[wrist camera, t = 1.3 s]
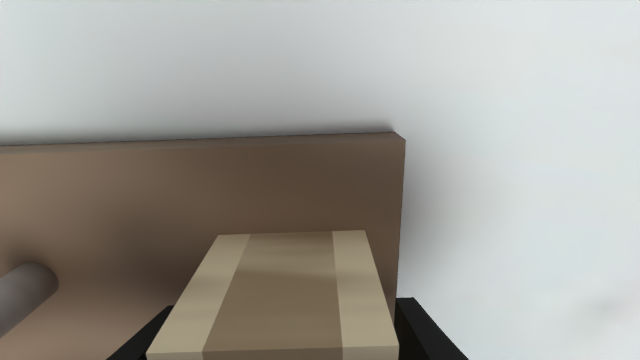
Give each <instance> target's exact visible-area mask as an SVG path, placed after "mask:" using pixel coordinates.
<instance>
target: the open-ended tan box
mask: <svg viewBox="0 0 640 360" xmlns="http://www.w3.org/2000/svg"><path fill="white" fill-rule="evenodd" d="M398 356H399V343H398V340H397V336H396V333H395V329H394V326H393V323H392V319H391V316H390V313H389V309H388V306H387V303H386V299H385V296H384V293H383V289H382V286H381V283H380V279H379V276H378V272H377V269H376V266H375V262H374V259H373V256H372V252H371V249H370V246H369V242H368V239H367V236H366V232H365V230H352V231H322V232H292V233H263V234H233V235H218V236H217V238H216V240H215V241H214V243H213V244H212V246H211V248H210V249H209V251H208V253H207V254H206V256H205V257H204V259H203V261H202V262H201V264H200V266H199V267H198V269H197V270H196V272H195V274H194V275H193V277H192V279H191V280H190V282H189V283H188V285H187V287H186V288H185V290H184V292H183V293H182V295H181V296H180V298H179V300H178V301H177V303H176V305H175V306H174V308H173V309H172V311H171V313H170V314H169V316H168V318H167V319H166V321H165V322H164V324H163V326H162V327H161V329H160V331H159V332H158V334H157V336H156V337H155V339H154V340H153V342H152V344H151V345H150V347H149V349H148V350H147V352H146V357H147V360H398Z"/></svg>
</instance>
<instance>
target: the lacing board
mask: <svg viewBox="0 0 640 360" xmlns="http://www.w3.org/2000/svg"><path fill="white" fill-rule="evenodd" d="M405 142H406V140H405V139H403V138H402V137H401V136H399V135H398V134H397V133H396V132H379V133H351V134H323V135H295V136H267V137H238V138H210V139H182V140H154V141H126V142H98V143H69V144H41V145H13V146H0V360H106V359H107V358H108V357H109V356H111V355H112V354H113V353H114V352H115V351H116V350H118V349H119V348H120V347H121V346H122V345H123V344H124V343H126V342H127V341H128V340H129V339H130V338H131V337H133V336H134V335H135V334H136V333H137V332H138V331H139V330H140V329H142V328H143V327H144V326H145V325H146V324H147V323H148V322H149V321H151V320H152V319H153V318H154V317H155V316H156V315H157V314H159V313H160V312H161V311H162V310H163V309H165V308H166V307H167V306H168V305H176V303H177V301H178V300H179V298H180V296H181V295H182V293H183V292H184V290H185V288H186V287H187V285H188V283H189V282H190V280H191V279H192V277H193V275H194V274H195V272H196V270H197V269H198V267H199V266H200V264H201V262H202V261H203V259H204V257H205V256H206V254H207V253H208V251H209V249H210V248H211V246H212V244H213V243H214V241H215V240H216V238H217V236H218V235H233V234H263V233H292V232H322V231H352V230H365V232H366V236H367V239H368V242H369V246H370V249H371V252H372V256H373V259H374V262H375V266H376V269H377V272H378V276H379V279H380V283H381V286H382V289H383V293H384V296H385V299H386V303H387V306H388V309H389V313H390V316H391V319H392V323H393V326H394V314H395V298H396V291H397V275H398V258H399V242H400V225H401V208H402V192H403V175H404V159H405Z"/></svg>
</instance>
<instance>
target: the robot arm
mask: <svg viewBox="0 0 640 360" xmlns="http://www.w3.org/2000/svg"><path fill="white" fill-rule="evenodd" d="M174 306H175V305H168V306H167V307H166V308H165V309H163V310H162V311H161V312H160V313H159V314H157V315H156V316H155V317H154V318H153V319H152V320H151V321H149V322H148V323H147V324H146V325H145V326H144V327H143V328H142V329H140V330H139V331H138V332H137V333H136V334H135V335H134V336H133V337H131V338H130V339H129V340H128V341H127V342H126V343H124V344H123V345H122V346H121V347H120V348H119V349H118V350H116V351H115V352H114V353H113V354H112V355H111V356H109V357H108V358H107V359H106V360H147V357H146V352H147V350H148V349H149V347H150V345H151V344H152V342H153V340H154V339H155V337H156V336H157V334H158V332H159V331H160V329H161V327H162V326H163V324H164V322H165V321H166V319H167V318H168V316H169V314H170V313H171V311H172V309H173V308H174ZM394 329H395V333H396V336H397V340H398V343H399V356H398V360H469V359H468V358H467V357H466V356H465V355H464V354H463V353H462V352H461V351H460V350H459V349H458V348H457V347H456V346H455V344H454V343H453V342H452V341H451V340H450V339H449V338H448V337H447V336H446V335H445V334H444V332H443V331H442V330H441V329H440V328H439V327H438V326H437V324H436V323H435V322H434V321H433V320H432V319H431V317H430V316H429V315H428V314H427V313H426V311H425V310H424V309H423V308H422V307H421V305H420V304H419V303H418V302H417V300H416V299H414V298H413V297H412V298H395V314H394Z"/></svg>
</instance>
